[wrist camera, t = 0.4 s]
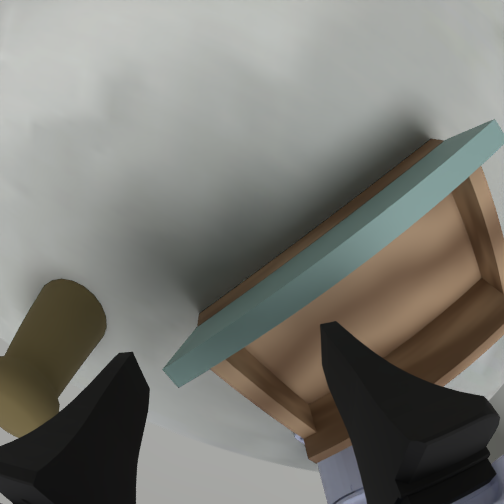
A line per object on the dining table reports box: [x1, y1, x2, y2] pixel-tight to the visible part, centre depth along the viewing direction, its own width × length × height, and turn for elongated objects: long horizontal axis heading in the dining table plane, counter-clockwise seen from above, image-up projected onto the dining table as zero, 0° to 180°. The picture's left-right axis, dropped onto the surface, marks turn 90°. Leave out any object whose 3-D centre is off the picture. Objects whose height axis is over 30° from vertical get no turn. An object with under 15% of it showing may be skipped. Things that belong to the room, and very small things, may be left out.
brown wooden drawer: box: [198, 139, 504, 463], centre depth 19 cm, size 13×20×6 cm, turn 128°
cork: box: [0, 279, 107, 438], centre depth 16 cm, size 6×6×11 cm
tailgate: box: [162, 119, 504, 388], centre depth 16 cm, size 1×20×6 cm, turn 127°
